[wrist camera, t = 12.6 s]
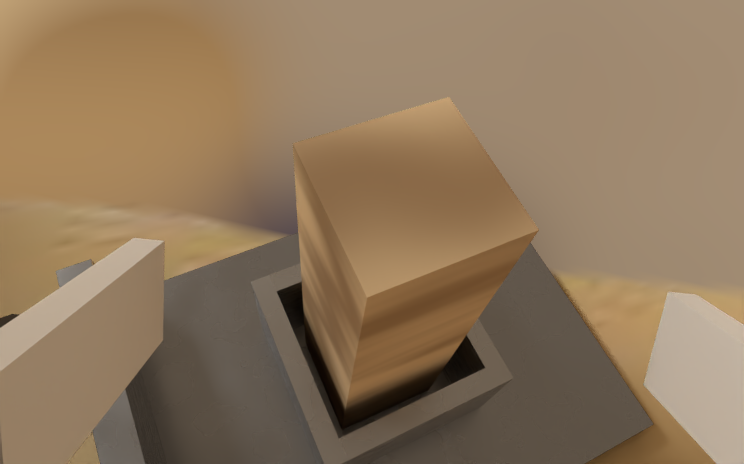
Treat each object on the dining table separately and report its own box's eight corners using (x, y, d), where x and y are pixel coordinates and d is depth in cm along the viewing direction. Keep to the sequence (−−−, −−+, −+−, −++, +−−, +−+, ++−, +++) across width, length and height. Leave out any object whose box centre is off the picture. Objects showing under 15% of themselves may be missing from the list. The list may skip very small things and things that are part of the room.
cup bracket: (97, 315, 27) (45, 260, 22) (475, 177, 33) (503, 108, 28) (192, 685, 21) (150, 731, 15) (642, 428, 27) (720, 399, 22)
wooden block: (305, 342, 26) (292, 143, 14) (388, 308, 28) (448, 97, 15) (341, 430, 25) (367, 297, 12) (428, 390, 26) (538, 229, 13)
